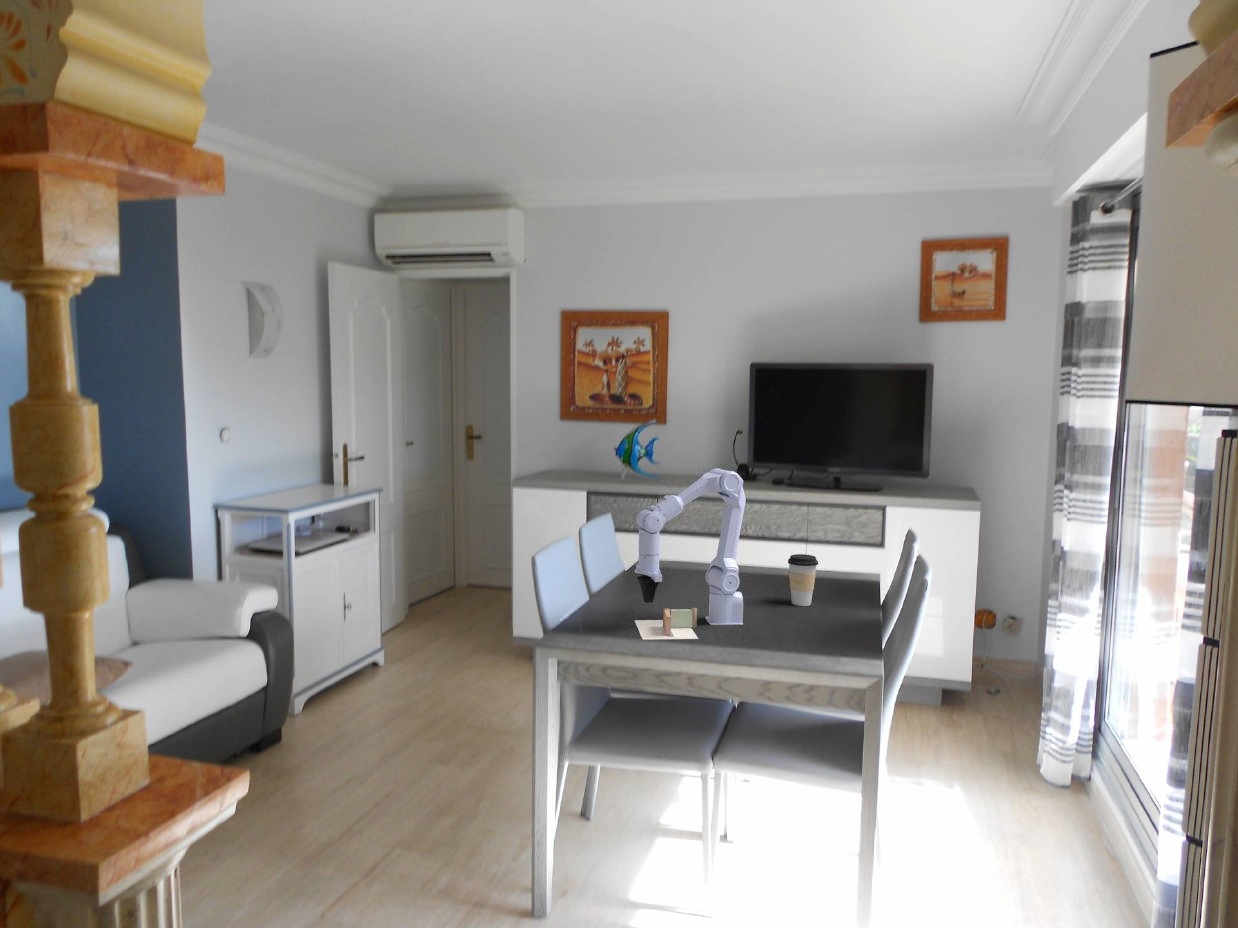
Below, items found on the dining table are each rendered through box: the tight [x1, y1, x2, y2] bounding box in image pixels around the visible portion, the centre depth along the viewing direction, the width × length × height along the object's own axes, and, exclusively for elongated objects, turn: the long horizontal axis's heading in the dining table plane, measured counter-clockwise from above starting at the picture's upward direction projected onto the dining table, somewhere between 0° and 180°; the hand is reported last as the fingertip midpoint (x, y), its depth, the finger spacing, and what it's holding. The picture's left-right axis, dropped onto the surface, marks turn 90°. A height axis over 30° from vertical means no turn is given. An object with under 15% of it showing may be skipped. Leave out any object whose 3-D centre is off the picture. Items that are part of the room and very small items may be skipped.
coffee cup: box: [787, 553, 819, 607], centre depth 275 cm, size 9×9×15 cm
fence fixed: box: [669, 607, 698, 629], centre depth 246 cm, size 7×2×5 cm, turn 96°
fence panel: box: [662, 607, 671, 635], centre depth 242 cm, size 9×2×5 cm, turn 1°
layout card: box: [634, 619, 699, 641], centre depth 244 cm, size 15×19×1 cm
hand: (648, 602), depth 244 cm, fingers closed
